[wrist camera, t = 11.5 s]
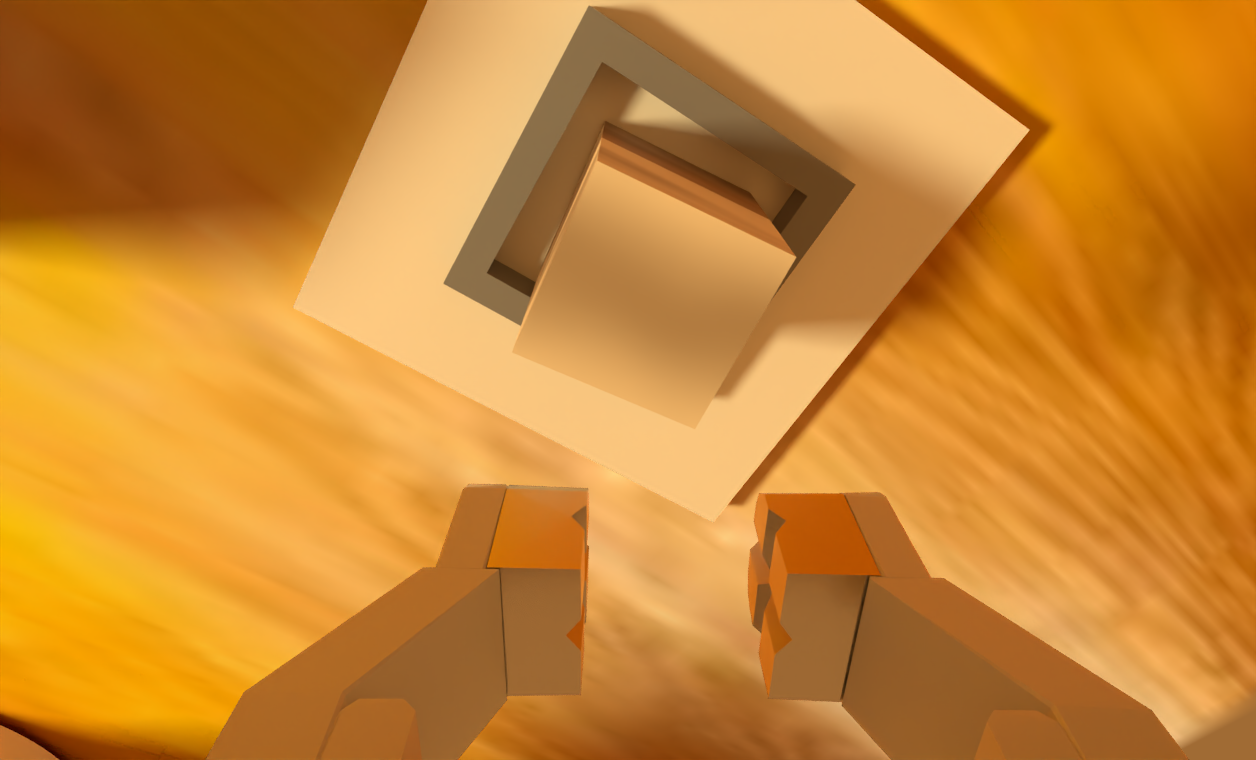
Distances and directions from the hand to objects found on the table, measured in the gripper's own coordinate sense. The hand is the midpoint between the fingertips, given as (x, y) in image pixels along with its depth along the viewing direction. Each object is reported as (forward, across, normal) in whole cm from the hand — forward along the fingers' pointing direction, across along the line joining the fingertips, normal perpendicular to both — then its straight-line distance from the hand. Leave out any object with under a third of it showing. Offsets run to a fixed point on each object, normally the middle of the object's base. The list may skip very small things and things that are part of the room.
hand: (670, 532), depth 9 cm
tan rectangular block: (+16, 0, 0) cm, 16 cm away
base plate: (+17, 0, 0) cm, 17 cm away
